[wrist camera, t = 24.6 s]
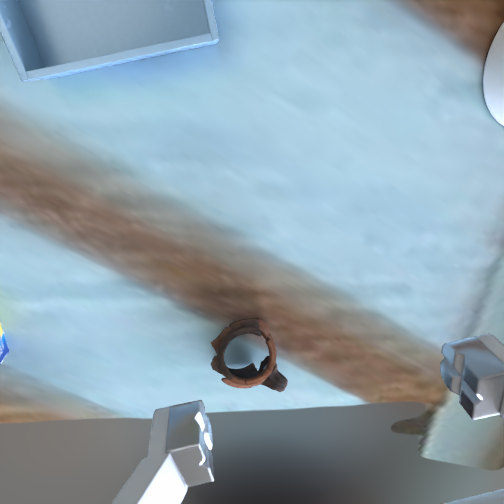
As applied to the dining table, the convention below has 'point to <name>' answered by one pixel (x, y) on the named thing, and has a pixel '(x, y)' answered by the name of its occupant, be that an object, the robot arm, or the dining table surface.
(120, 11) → the basin
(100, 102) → the dining table surface
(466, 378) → the robot arm
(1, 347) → the blue food box
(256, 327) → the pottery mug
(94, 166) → the dining table surface
